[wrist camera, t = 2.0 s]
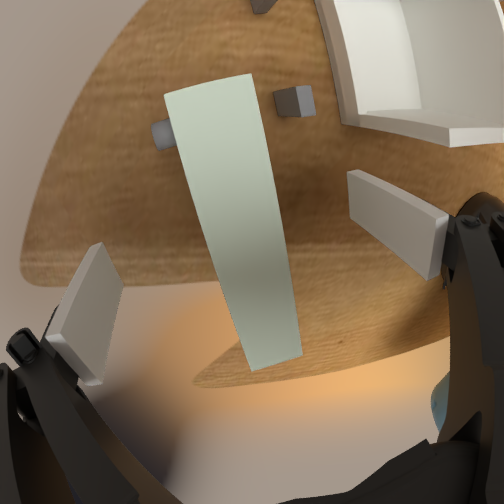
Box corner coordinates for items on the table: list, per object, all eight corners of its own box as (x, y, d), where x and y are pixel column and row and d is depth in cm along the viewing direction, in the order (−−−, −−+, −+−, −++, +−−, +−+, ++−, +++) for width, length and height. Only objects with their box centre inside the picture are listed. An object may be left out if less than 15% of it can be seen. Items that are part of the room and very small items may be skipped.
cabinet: (422, 117, 22) (521, 141, 11) (281, 134, 21) (368, 159, 10) (396, -7, 15) (487, -29, 5) (244, -19, 14) (294, -104, 3)
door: (256, 255, 25) (302, 355, 15) (211, 268, 25) (231, 376, 15) (218, 96, 18) (251, 73, 8) (164, 111, 18) (129, 106, 8)
